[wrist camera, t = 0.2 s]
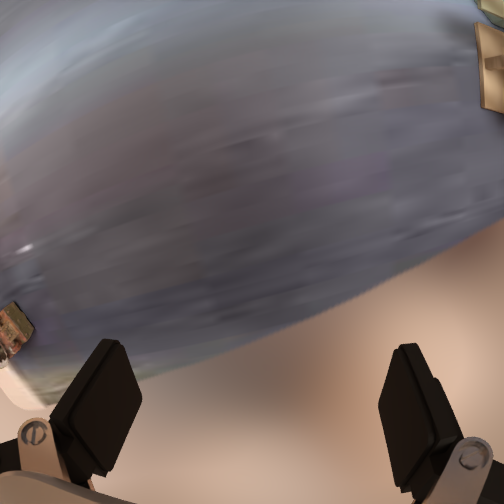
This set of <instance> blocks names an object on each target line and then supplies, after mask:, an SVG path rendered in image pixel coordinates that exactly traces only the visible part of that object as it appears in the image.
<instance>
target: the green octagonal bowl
mask: <svg viewBox="0 0 504 504" xmlns="http://www.w3.org/2000/svg"><path fill="white" fill-rule="evenodd" d="M474 1H475V2H476V3H477V0H474ZM503 1H504V0H503ZM477 5H478V3H477ZM482 11H483V10H482ZM483 12H484V13H485V15H486V16H487V17H488V18H489V20H490V21H491V22H492V23H493V24H495V25H497V26H499V27H502V28H504V20H503V19H501V18H499V17H497V16H495V15H492V14H490V13H488V12H485V11H483Z"/></svg>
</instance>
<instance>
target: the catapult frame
mask: <svg viewBox="0 0 504 504" xmlns="http://www.w3.org/2000/svg"><path fill="white" fill-rule="evenodd" d="M474 26H475V33H476V41H477V49H478V59H479V72H480V90H481V108H485V109H488V110H492V111H496V112H499V113H502V114H504V33H503V32H501V31H499V30H496V29H494V28H492V27H489V26H487V25H484V24H482V23H479V22H476V23H474Z"/></svg>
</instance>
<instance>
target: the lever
mask: <svg viewBox="0 0 504 504" xmlns="http://www.w3.org/2000/svg"><path fill="white" fill-rule="evenodd" d="M477 3H478V9H480V10H483V11H485V12H488V13H490V14H492V15H495V16H497V17H499V18H501V19H503V20H504V1H503V0H477Z"/></svg>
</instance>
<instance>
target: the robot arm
mask: <svg viewBox="0 0 504 504" xmlns="http://www.w3.org/2000/svg"><path fill="white" fill-rule="evenodd" d="M141 402H142V394H141V391H140V389H139V386H138V383H137V381H136V378H135V376H134V373H133V370H132V368H131V365H130V362H129V359H128V357H127V354H126V351H125V348H124V346H123V345H121V344H120V342H119V341H118V340H112V339H102V340H101V341H100V343H99V344H98V346H97V347H96V348H95V350H94V351H93V353H92V354H91V355H90V357H89V358H88V360H87V361H86V362H85V364H84V365H83V367H82V368H81V370H80V371H79V373H78V374H77V375H76V377H75V378H74V380H73V381H72V383H71V384H70V386H69V387H68V389H67V390H66V392H65V393H64V395H63V396H62V398H61V399H60V401H59V402H58V404H57V405H56V407H55V409H54V410H53V411H52V413H51V415H50V420H49V421H47V420H45V419H43V418H32V419H29V420H27V421H26V422H24V423H23V424H22V426H21V427H20V428H19V431H18V438H16V439H13V440H10V441H7V442H4V443H1V444H0V504H135V503H131V502H128V501H124V500H121V499H118V498H114V497H111V496H108V495H105V494H101V493H98V492H96V491H95V489H94V486H93V484H92V481H91V476H92V474H96V475H99V476H103V477H106V475H107V473H108V471H111V470H112V469H113V467H114V465H115V463H116V460H117V458H118V455H119V453H120V451H121V448H122V446H123V444H124V442H125V439H126V437H127V434H128V432H129V430H130V428H131V426H132V423H133V421H134V419H135V417H136V414H137V412H138V410H139V408H140V405H141ZM378 409H379V414H380V418H381V422H382V426H383V430H384V435H385V439H386V443H387V448H388V453H389V457H390V462H391V467H392V472H393V477H394V482H395V485H396V487H400V489H401V493H406V492H412V497H413V498H414V500H413V502H412V504H504V464H502V463H499V462H498V461H495V460H493V451H492V449H491V447H490V445H489V444H488V443H487V442H486V441H485V440H483V439H481V438H478V437H467V438H465V439H464V437H463V434H462V432H461V429H460V427H459V425H458V422H457V420H456V417H455V415H454V412H453V410H452V408H451V405H450V403H449V401H448V399H447V396H446V394H445V392H444V390H443V388H442V385H441V383H440V382H439V380H438V379H437V378H433V375H432V373H431V371H430V369H429V367H428V365H427V363H426V361H425V358H424V357H423V354H422V353H421V350H420V348H419V346H418V345H417V344H416V343H410V344H401V345H400V346H399V348H398V349H395V350H394V352H393V355H392V359H391V362H390V366H389V370H388V373H387V376H386V380H385V383H384V386H383V389H382V393H381V395H380V398H379V403H378Z"/></svg>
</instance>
